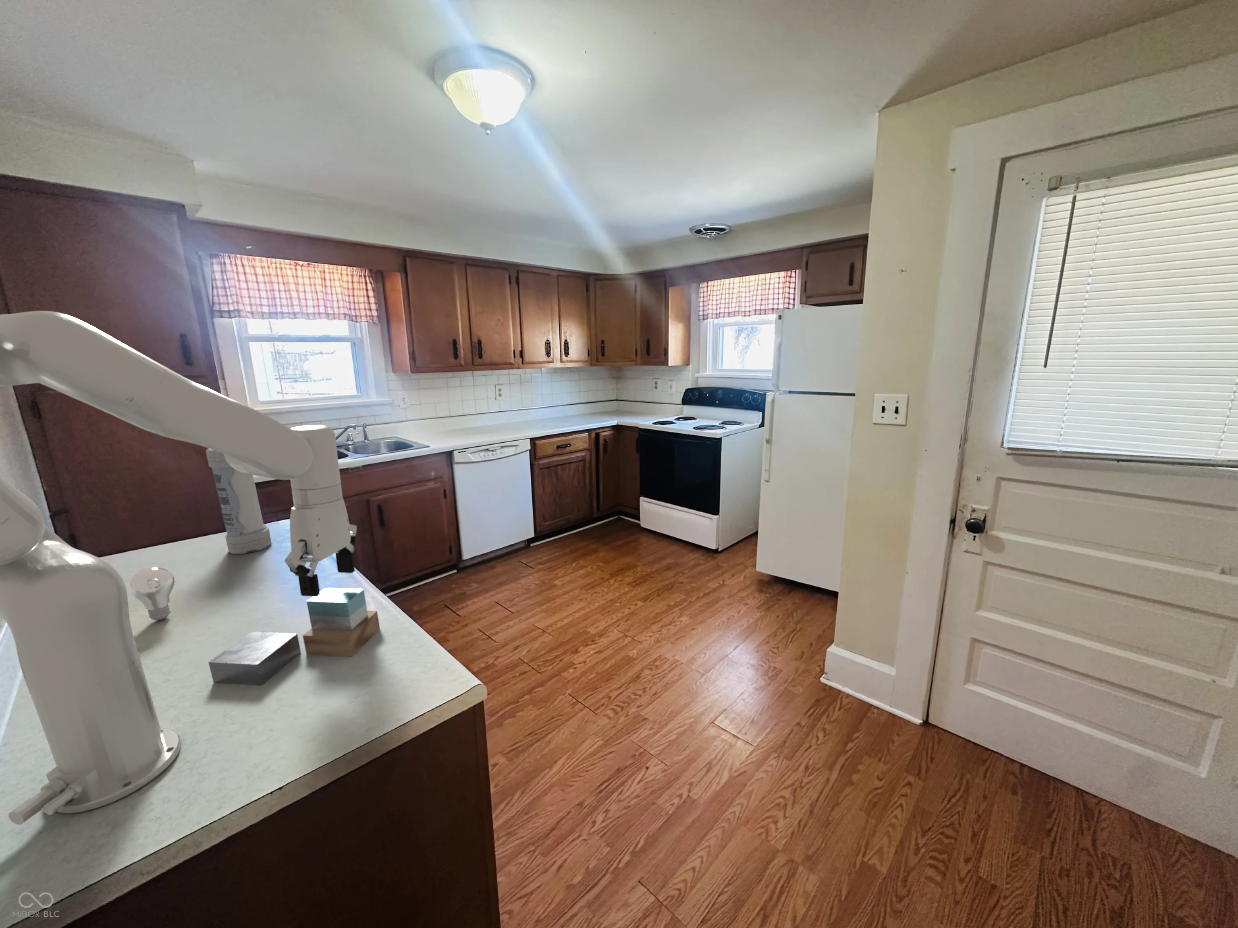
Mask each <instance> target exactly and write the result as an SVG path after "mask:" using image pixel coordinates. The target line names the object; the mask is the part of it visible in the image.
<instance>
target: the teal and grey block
mask: <svg viewBox="0 0 1238 928" xmlns="http://www.w3.org/2000/svg"><path fill="white" fill-rule="evenodd" d="M365 595H366V594H365V590H364V588H338V587H324V588H323V589H322V590H320V594H319V595H318V596H316V597H315V596H311V597H310V598H309V599H307V600H306V607H307V611H308V616H309V621H310V627H311V628H312V630H326V631H350V632H352V631H353V630H354V629H355V628H357V627H358V626H359V625H360V624H361V623H362V622H363V621H364V620H365V619H366V618H367V617H368V613H367V611H368V607H367V602H366V601H367V600H366V596H365Z"/></svg>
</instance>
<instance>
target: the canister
mask: <svg viewBox="0 0 1238 928" xmlns="http://www.w3.org/2000/svg"><path fill="white" fill-rule="evenodd" d="M205 453H206V458H207V459H206V460H207V463H208V467H209V468H211V469H212V475H213V480H214V484H215V489H216V491H217V498H218V503H219V504H220V509H221V515H222V519H223V523H224V526H225V531H226V534H225V535H224V537H225V541H226V546H227V550H228V552H229V553H230V554H232V555H245V554H249V553H253V552H260V551H262V550H264V549H266V548H268V547H269V546H270V545H271V544H272V538H271V533H270V528H269V526H267V525H266V524H265V523H264V520H263V516H262V515H263V514H262V512H261V507H260V503H259V498H258V497H259V495H258V493H257V488H256V484H255V476H254V475H250V474H245V473H242V472H240V471H238V470H236V469H234V468H233V467H231V466H230V465H229V464H228V462H227V461H226V459H225V456H224V454H223V453H221V452H218V451H215V450H213V449H210V448H207V447H206V451H205Z"/></svg>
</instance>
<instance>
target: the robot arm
mask: <svg viewBox="0 0 1238 928" xmlns="http://www.w3.org/2000/svg"><path fill="white" fill-rule="evenodd" d="M29 384H41V385H43V386H45V387H47V388H49V389H52V390H55V391H57V392H60V393H62V394H64V395H66V396H69V397H71V398H72V399H75V400H77V401H80V402H82V403H83V404H87V405H89V406H91V407H94V408H95V409H98V410H100V411H102V412H104V413H106V414H109V415H112V416H114V417H115V418H117V419H120V420H122V421H124V422H126V423H128V424H131V425H133V426H135V427H138V428H140V429H143V430H144V431H147V432H150V433H153V434H156V435H159V436H161V437H165V438H169V439H172V440H176V441H181V442H187V443H189V444H194V445H198V446H200V447H204V448H206V449H207V448H210V449H213V450H215V451H218V452H221V453H223V454H224V456H225V459H226V461H227V462H228V464H229V465H230V466H231V467H233V468H234V469H236V470H238V471H240V472H242V473H245V474H250V475H253V476H257V477H261V478H262V477H263V478H268V479H270V478H271V479H274V480H275V479H276V480H281V481H286V480H287V481H288V480H290V487H291V494H292V501H293V507H291V509H290V516H289V518H290V519H289V536H290V537H289V540H290V552H289V554H288V555H287V556H285V558H284V563H285V565H286V566H287V567H288V568H289V571H290V572H291V573H292V574H294V575H295V577H298V584H299V588H300V596H302V597H313V596H315V597H316V596H318V595H319V594H320V591H321V590H320V582H319V577H318V574H317V573H315V572H316V570H317V567H318V565H319V562H321V561H324V560H326V559H327V558H328V557H330V556H332V555H333V554H335V560H336V568H337V572H338V573H345V574H353V573H354V572H355V571H356V570H355V562H354V551H355V546H354V545H355V542H356V539H357V538H356V536H357V535H356V534H357V528H358V527H357V525H355V524H350V519H349V514H348V510H347V507H346V503H345V500H344V497H343V490H342V482H341V474H340V466H339V457H338V447H337V441H336V433H335V431H334V429H333V428H332V427H330V426H327V425H325V424H324V425H323V424H316V425H315V424H313V425H312V424H311V425H310V424H309V425H299V426H294V427H290V428H289V427H288V426H286V425H284V424H282V423H281V422H279V421H278V420H276V419H274V418H272V417H271V416H268V415H266V414H265V413H262V412H261V411H258V410H257V409H254V408H253V407H250V406H249V405H248V406H247V405H245V404H244V403H242V402H240V401H237V400H235V399H232V398H230V397H228V396H225V395H223V394H221V393H219V392H217V391H215V390H213V389H212V388H211V389H210V388H209V387H207V386H204V385H202V384H199V383H196V382H195V381H192V380H191V379H188V378H187V377H185V376H183V375H181V374H179V373H177V372H175V371H173V370H172V369H170V368H168V367H167V366H165V365H162V364H161V363H159V362H157V361H155V360H153V359H152V358H150V357H148V356H146V355H144V354H143V353H141V352H139V351H137V350H136V349H134V348H133V347H130V346H129V345H127V344H125V343H123V342H121V341H120V340H117V339H116V338H114V337H113V336H111V335H109V334H107V333H106V332H103V331H102V330H100V329H98V328H96V327H95V326H93V325H90V324H89V323H87V322H84V321H83V320H80V319H78V318H76V317H74V316H71V315H68V314H65V313H61V312H58V311H51V310H33V311H24V312H23V311H22V312H16V313H4V314H0V387H1V388H2V387H9V386H10V387H11V386H20V385H21V386H22V385H29ZM310 556H312V557H310ZM307 563H309V565H308V567H306V564H307ZM0 618H1V619H3V620H4V621H5V622H6V624H7V626H8V628H9V629H10V632H11V634H12V638H13V640H14V644H15V648H16V653H17V654H16V655H17V659H18V663H19V666H20V669H21V672H22V676H23V680H24V681H25V685H26V687H27V690H28V693H29V695H30V696H31V699H32V702H33V705H34V708H35V710H36V713H37V715H38V718H39V721H40V725H41V728H42V729H43V730H42V731H43V732H44V736H45V738H46V741H47V744H48V745H49V749H50V752H51V754H52V756H53V759H54V763H55V767H54V768H52V769H50V770H49V771H48V772H47V773H46V774H45V775H46V778H47V780H48V782H47V783H46V784H44V785H43V786H41V788H40V791H39V792H38V793H36V794H35V795H33V796H32V797H30V798H29V799H27V800H25V801H24V802H23V803H22V804H20V805H18V806H17V807H16V808H14V809H13V810H11V812H9V813H8V819H9V821H11V822H12V823H14V824H15V825H20V826H21V825H23V824H24V823H26V822H27V821H29V820H30V819H31V818H32V817H33V816H35V815H37V814H38V813H40V811H43V812H44V813H45V814H46V815H49V816H51V815H54V813H60V814H74V813H81V812H82V813H83V812H86V811H90V810H94V809H98V808H100V807H103V806H106V805H109V804H111V803H114V802H115V801H116V802H117V800H118V801H119V800H120V799H123V798H124V797H126V796H128V795H130V794H132V793H134V792H135V791H137V790H139V789H141V788H142V787H143V786H145V785H147V784H148V783H150V782H152V781H153V780H154V779H155V778H156V777H158V776H159V775H160V774H161V773H163V772H164V771H165V770H167V768H168V767H169V766H170V765H171V764H172V763H173V761H174V760H175V758H176V757H177V756H178V755H179V752H180V750H181V746H182V743H181V742H182V741H181V738H180V735H179V734H178V732H176V731H174V730H173V729H168V728H161V725H160V722H159V719H158V715H157V712H156V708H155V705H154V701H153V698H152V695H151V694H152V693H151V690H150V688H149V685H148V681H147V678H146V675H145V674H146V673H145V671H144V668H143V664H142V660H141V658H140V657H141V656H140V654H139V652H138V648H137V644H136V641H135V637H134V633H133V629H132V625H131V620H130V613H129V599H128V592H127V588H126V584H125V581H124V580H123V577H122V576H121V574H120V573H119V571H117V569H116V568H115V567H113V566H112V565H111V564H110V563H108V562H107V561H106V560H104V559H102V558H100V557H98V556H96V555H93V554H92V553H88V552H86V551H84V550H79V549H77V548H75V547H72V546H71V545H70V544H69V543H67V542H66V541H64V540H63V538H62V537H60V536H59V535H58V534H56V533H55V532H54V531H53V530H52V529H51V528H49V526H47V525H46V524H45V519H44V515H43V513H42V511H41V509H40V508H39V507H38V506H37V504H36V502H34V501H33V500H32V499H31V498H30V497H28V496H27V495H26V494H25V493H24V492H21V490H19V489H18V488H16V487H15V486H14V485H12V484H11V483H10V482H9V481H7V479H5V478H4V477H2V475H0Z"/></svg>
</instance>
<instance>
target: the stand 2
mask: <svg viewBox="0 0 1238 928" xmlns="http://www.w3.org/2000/svg"><path fill="white" fill-rule="evenodd" d="M367 613H368V617H367V618H366V619H365V620H364V621H363V622H362V623H361V624H360V625H359V626H358V627H357V628H355V629H354V630H353V631H352V632H350V631H326V630H312V627H311V628H310V629H309V630H307V631H306V632H305V633H304V634H303V635H302V640H303V644H304V648H305V654H306V655H312V656H313V655H314V656H330V657H331V656H332V657H333V656H334V657H336V656H337V657H350V658H351V657H353V656H354V655H356V653H357V652H358V651H359V650H360V649H361V648H362V647H363V646H364V645H366V643H367V642H369V640H370V639H371V638H372V637H373V636H374V635H375V634H376V633H377V632H378V631H380V629H381V628H380V627H381V626H380V620H379V615H378V610H367Z"/></svg>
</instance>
